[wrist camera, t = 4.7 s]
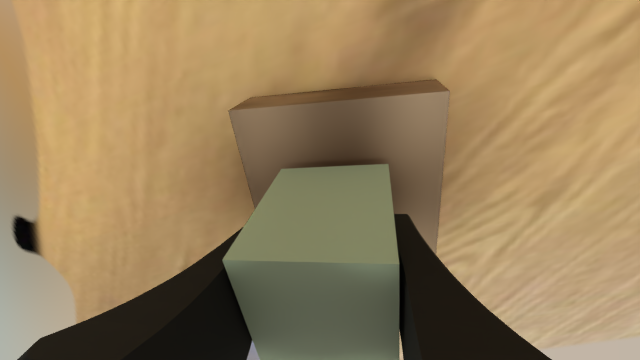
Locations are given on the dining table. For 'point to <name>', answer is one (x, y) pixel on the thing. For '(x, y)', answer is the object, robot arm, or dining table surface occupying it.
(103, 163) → the dining table surface
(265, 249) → the green block
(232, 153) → the dining table surface
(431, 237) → the walnut base
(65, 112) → the dining table surface
